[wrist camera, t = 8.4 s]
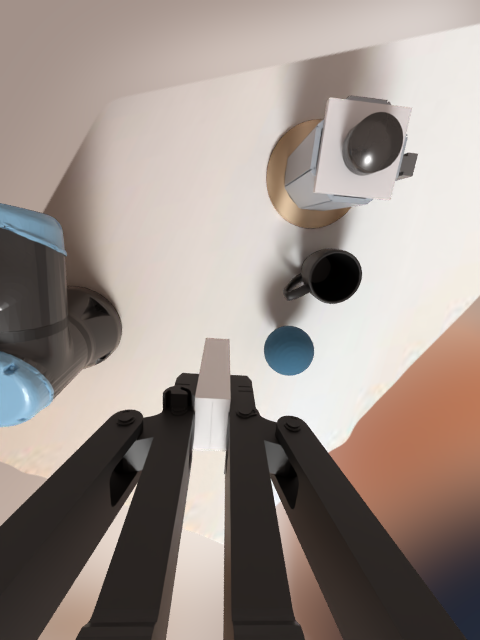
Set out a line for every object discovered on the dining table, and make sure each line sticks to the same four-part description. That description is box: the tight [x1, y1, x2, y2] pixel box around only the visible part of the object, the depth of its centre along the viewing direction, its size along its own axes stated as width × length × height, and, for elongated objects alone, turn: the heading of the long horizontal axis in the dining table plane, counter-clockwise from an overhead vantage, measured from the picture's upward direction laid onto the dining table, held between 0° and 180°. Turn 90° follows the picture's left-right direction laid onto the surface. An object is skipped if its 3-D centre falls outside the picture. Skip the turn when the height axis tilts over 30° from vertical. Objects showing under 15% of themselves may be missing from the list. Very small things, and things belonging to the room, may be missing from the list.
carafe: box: [284, 96, 418, 211], centre depth 38 cm, size 13×10×17 cm
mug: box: [283, 249, 362, 304], centre depth 47 cm, size 8×12×10 cm
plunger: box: [316, 112, 403, 196], centre depth 33 cm, size 8×8×12 cm
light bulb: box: [264, 326, 314, 375], centre depth 49 cm, size 8×8×12 cm
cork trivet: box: [266, 119, 351, 228], centre depth 46 cm, size 16×16×1 cm
